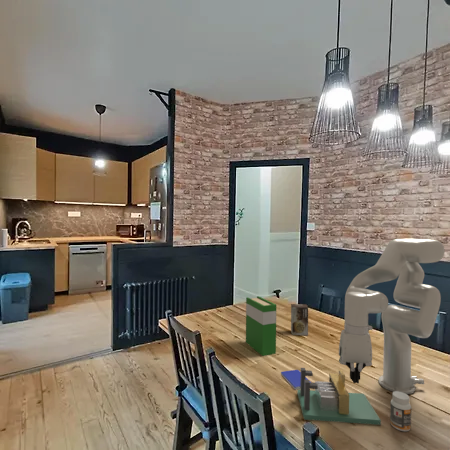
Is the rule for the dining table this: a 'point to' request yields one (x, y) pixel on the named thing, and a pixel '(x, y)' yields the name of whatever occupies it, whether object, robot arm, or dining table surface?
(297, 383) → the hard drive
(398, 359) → the robot arm
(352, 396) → the board
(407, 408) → the pill bottle
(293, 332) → the coffee box
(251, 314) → the hardback book
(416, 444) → the dining table surface
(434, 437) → the dining table surface
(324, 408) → the heatsink
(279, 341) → the dining table surface
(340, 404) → the tan notched block
